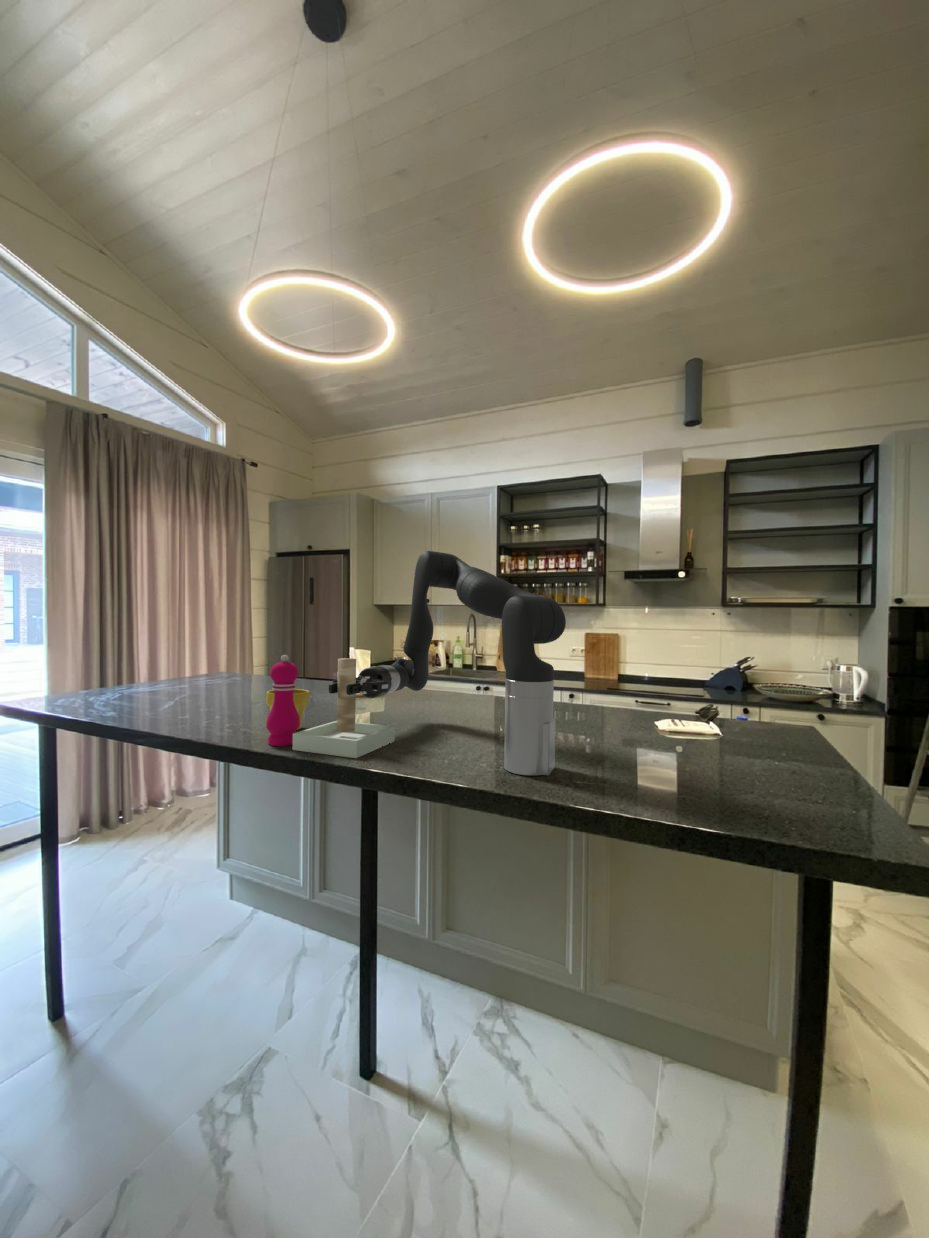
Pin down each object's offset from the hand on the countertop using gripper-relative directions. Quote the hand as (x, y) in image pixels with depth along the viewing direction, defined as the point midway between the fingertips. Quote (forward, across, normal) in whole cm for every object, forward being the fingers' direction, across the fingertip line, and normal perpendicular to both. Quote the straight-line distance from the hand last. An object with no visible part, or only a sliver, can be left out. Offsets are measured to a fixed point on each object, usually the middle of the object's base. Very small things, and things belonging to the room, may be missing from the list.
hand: (339, 689), depth 109 cm
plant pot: (-11, -23, +13) cm, 29 cm away
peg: (-3, 0, +10) cm, 10 cm away
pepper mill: (+1, -14, +13) cm, 19 cm away
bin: (-3, 0, +13) cm, 13 cm away
